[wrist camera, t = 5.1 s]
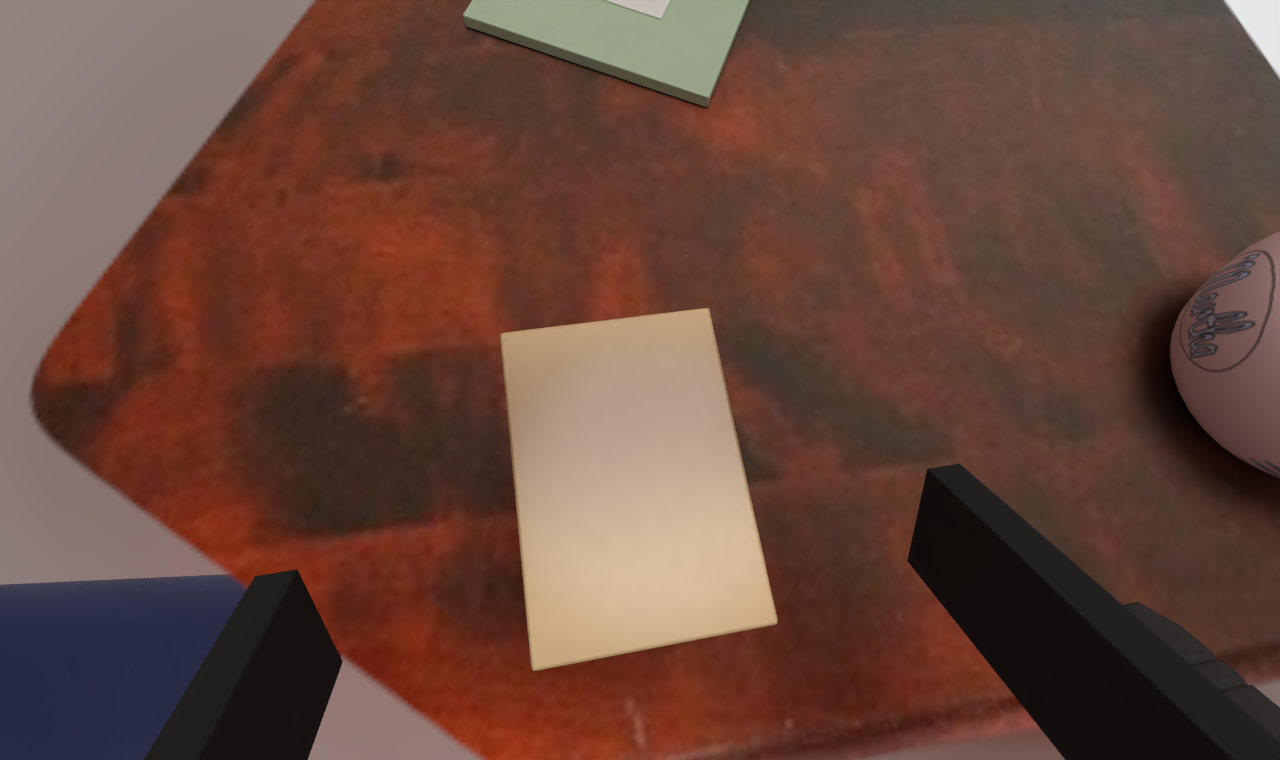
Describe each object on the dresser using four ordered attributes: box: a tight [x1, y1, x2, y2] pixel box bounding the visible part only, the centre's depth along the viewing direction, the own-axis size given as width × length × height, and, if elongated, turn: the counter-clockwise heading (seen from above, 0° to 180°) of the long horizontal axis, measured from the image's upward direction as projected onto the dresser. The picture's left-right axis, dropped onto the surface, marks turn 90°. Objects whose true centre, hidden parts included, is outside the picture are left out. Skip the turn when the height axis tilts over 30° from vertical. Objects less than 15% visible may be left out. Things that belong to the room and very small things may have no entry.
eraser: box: [500, 308, 778, 671], centre depth 14 cm, size 6×4×12 cm
